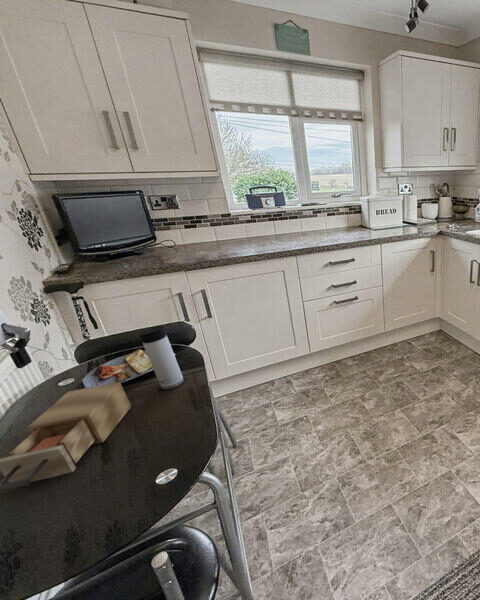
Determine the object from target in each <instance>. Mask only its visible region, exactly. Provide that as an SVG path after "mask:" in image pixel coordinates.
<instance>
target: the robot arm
mask: <svg viewBox="0 0 480 600" xmlns="http://www.w3.org/2000/svg"><path fill="white" fill-rule="evenodd" d="M17 336H18V337H17ZM30 336H31V329H30V328H27V327H23V326H17V325H13V324H11V322H10V320H9V319H8V318H7V316H6V315H5V313H4V312H3V311H2V310H1V309H0V347H1V348H2V349H5V350H7V351H10V353H9V356H10V358H11V360H12V362H13V363H14V365H15V367H16V369H23V368H24V367H26V366H28V365H29V364H31V363H32V358H31V356H30V354H29V352H28V351H27V349H26V347H27V346H28V343H29V342H30V340H31V338H30Z"/></svg>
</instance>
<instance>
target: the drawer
mask: <svg viewBox="0 0 480 600" xmlns="http://www.w3.org/2000/svg"><path fill="white" fill-rule="evenodd" d="M64 434H66V436H65V437H64V438H63V439H62V440H61V441H60V442H59V443H60V445H59V446H54V447H50V448H45V449H41V450H36V451H32V450H33V449H34V448H35V447H36V446H37V445H38V444H39V443H40V442H41V441H42V440H43V439H45V438H50V437H54V436H59V435H64ZM96 439H97V437H96V435H95V433H94V432H93V430H92V428H91V426H90V424H89V422H88V421H87V419H86V418H84V419H79V420H74V421H69V422H65V423H60V424H55V425H50V426H45V427H41V428H37V429H36V430H35V431H34V432H33V433H32V434H31V433H30V434H29V435H28V436H27V437H26V438H25V439H24V440H22V442H20V443H19V444H17V446H16V447H15V448H14V449H13V450H12V451H11V452H9V455H10V456H9V455H8V456H5V457H4V456H3V457H1V458H0V472H1V473H2V475H3V476H4V477H3V478H2V479H1V480H0V493H4V492H8V491H13V490H17V489H21V488H25V487H28V486H30V484H31V483H33V482H37V481H41V480H46V479H50V478H53V477H58V476H62V475H67V474H70V473H71V474H72V473H74V472H75V471H76V469H77V467H76V465H75V464H77V463H78V462H79V460H80V459H81V458H82V457H83V456H84V454H85V453H86V452H87V451H88V449H90V447H91V446H93V445H92V443H93V442H94V441H95V440H96ZM31 451H32V452H31ZM7 482H8V483H7Z"/></svg>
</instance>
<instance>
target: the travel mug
mask: <svg viewBox="0 0 480 600" xmlns="http://www.w3.org/2000/svg"><path fill="white" fill-rule="evenodd" d="M139 337H140V340H141V343H142V345H143V347H144V350H146V352H147V355H148V357H149V359H150V362H151V364H152V367H153V371H154V374H155V376H156V378H157V381H158V383H159V386H160V388H161V389H162V390H171V389H174V388H176V387H178V386H180V385H181V384H183V382H184V380H185V379H184V375H183V374H182V371H181V368H180V365H179V363H178V361H177V359H176V355H175V353H174V351H173V347H172V345H171V341H169V340H170V339H169V337H168V335H167V333H166V330H165V328H164V326H156V327H153V328H150V329H148V330H144V331H141V332H139Z"/></svg>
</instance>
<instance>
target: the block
mask: <svg viewBox="0 0 480 600" xmlns="http://www.w3.org/2000/svg"><path fill="white" fill-rule="evenodd" d="M65 436H66V434H64V435H59V436H54V437H50V438H45V439H43V440H42V441H41V442H40V443H39V444H38V445H37V446H36V447H35V448H34V449H33V450H32V451H36V450H41V449H45V448H50V447H54V446H59V445H60V443H59V442H60V441H61V440H62V439H63V438H64V437H65ZM32 451H31V452H32Z"/></svg>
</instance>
